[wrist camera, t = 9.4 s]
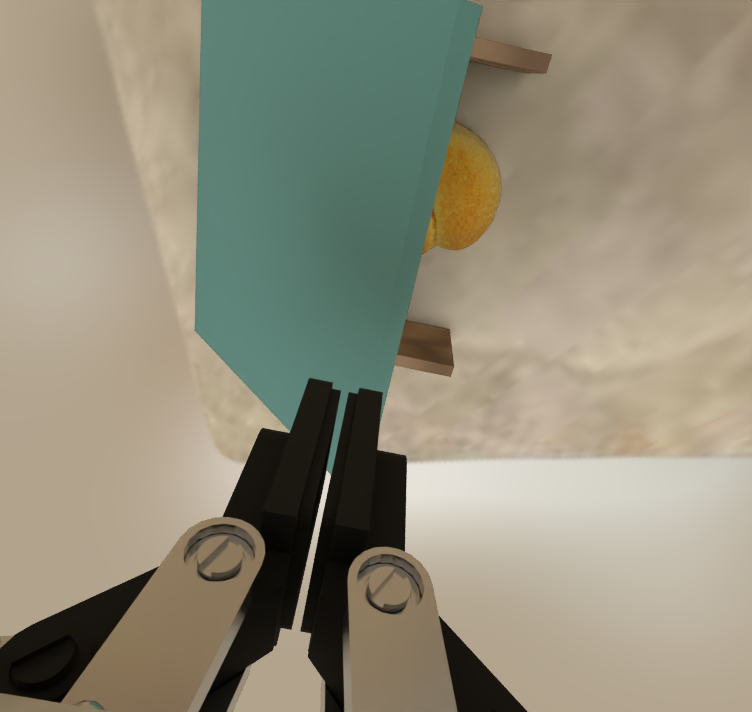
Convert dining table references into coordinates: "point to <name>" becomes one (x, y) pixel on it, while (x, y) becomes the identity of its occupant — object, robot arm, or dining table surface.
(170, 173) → the dining table surface
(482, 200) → the bread roll
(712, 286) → the dining table surface
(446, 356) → the brown wooden box
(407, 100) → the lid
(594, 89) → the dining table surface
